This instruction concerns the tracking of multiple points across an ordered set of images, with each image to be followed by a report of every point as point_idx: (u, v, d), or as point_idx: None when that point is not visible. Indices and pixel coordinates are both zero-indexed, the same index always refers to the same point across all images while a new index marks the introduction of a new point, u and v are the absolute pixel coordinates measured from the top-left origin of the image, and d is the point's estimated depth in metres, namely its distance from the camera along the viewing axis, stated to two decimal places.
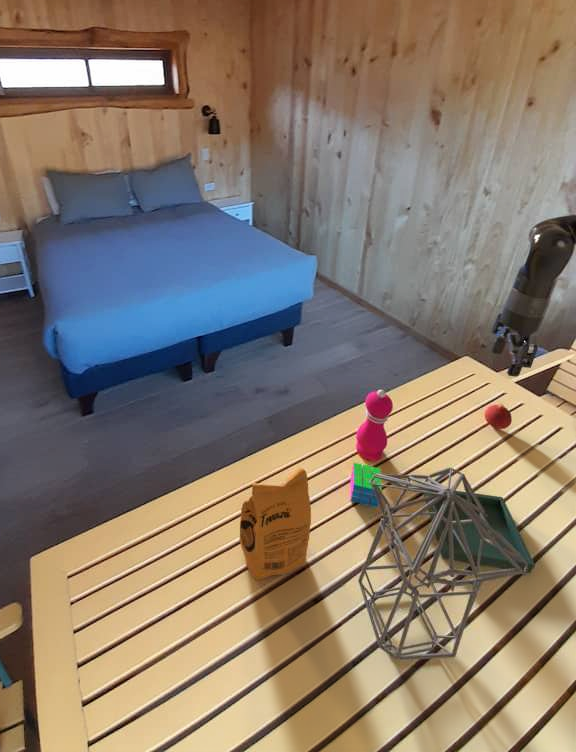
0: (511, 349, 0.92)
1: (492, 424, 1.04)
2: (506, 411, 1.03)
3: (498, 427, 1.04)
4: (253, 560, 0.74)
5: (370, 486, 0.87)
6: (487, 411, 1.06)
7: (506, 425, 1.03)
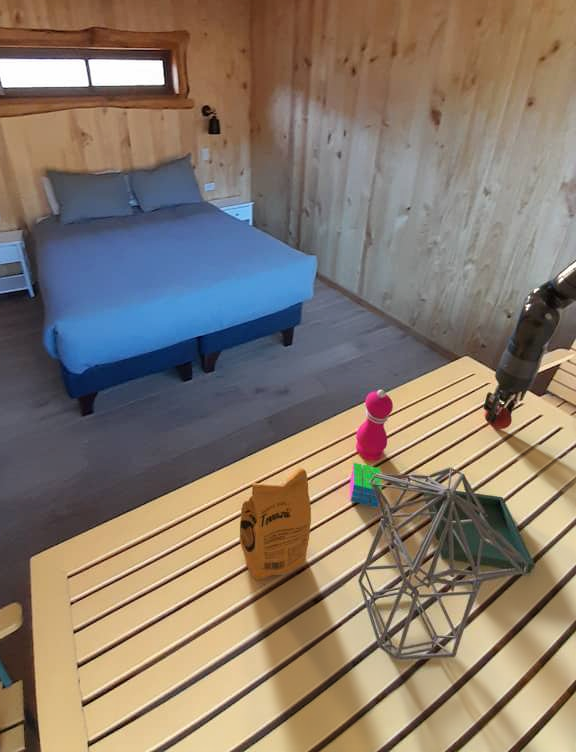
0: None
1: (492, 424, 1.04)
2: (506, 411, 1.03)
3: (498, 427, 1.04)
4: (253, 560, 0.74)
5: (370, 486, 0.87)
6: None
7: (506, 425, 1.03)
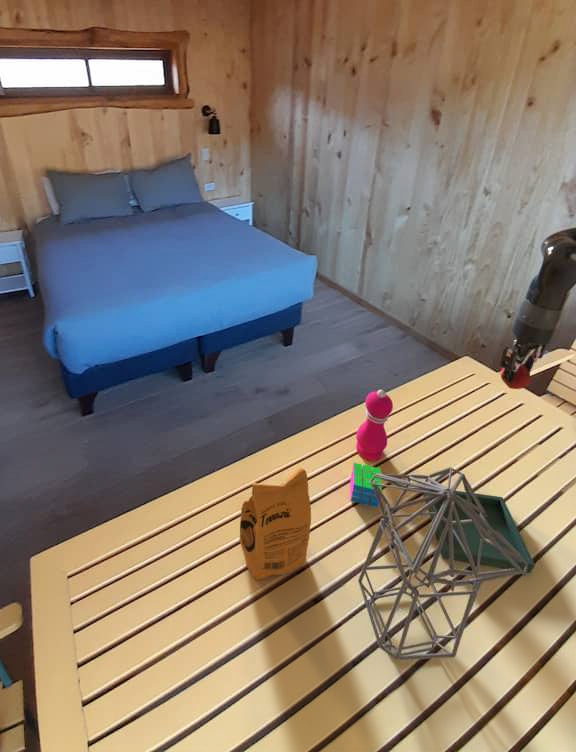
0: None
1: (509, 383, 0.97)
2: (524, 369, 0.96)
3: (516, 386, 0.96)
4: (253, 560, 0.74)
5: (370, 486, 0.87)
6: (503, 370, 0.98)
7: (524, 384, 0.95)
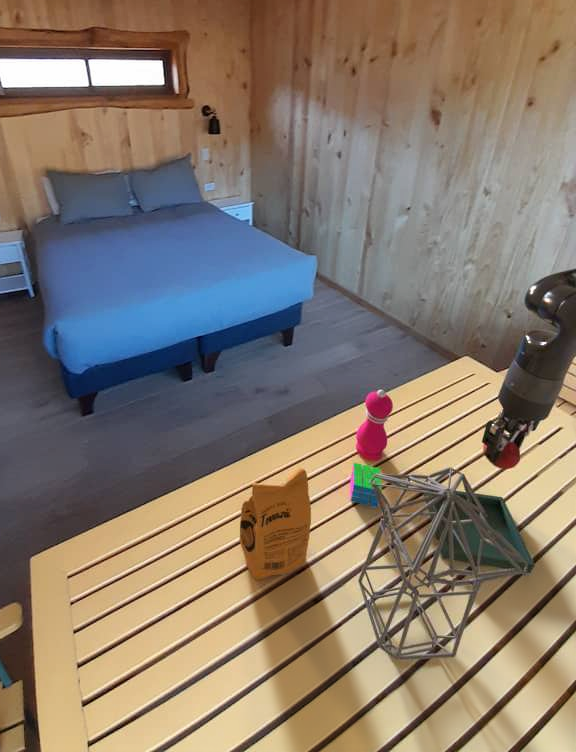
0: None
1: None
2: (513, 445, 0.75)
3: (502, 467, 0.76)
4: (253, 560, 0.74)
5: (370, 486, 0.87)
6: None
7: (513, 464, 0.75)
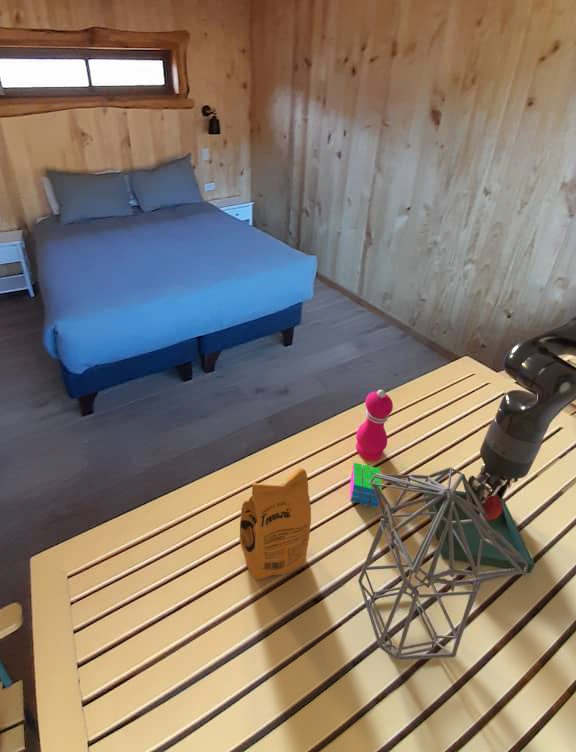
0: (476, 478, 0.77)
1: None
2: (495, 497, 0.77)
3: None
4: (253, 560, 0.74)
5: (370, 486, 0.87)
6: None
7: (495, 516, 0.77)
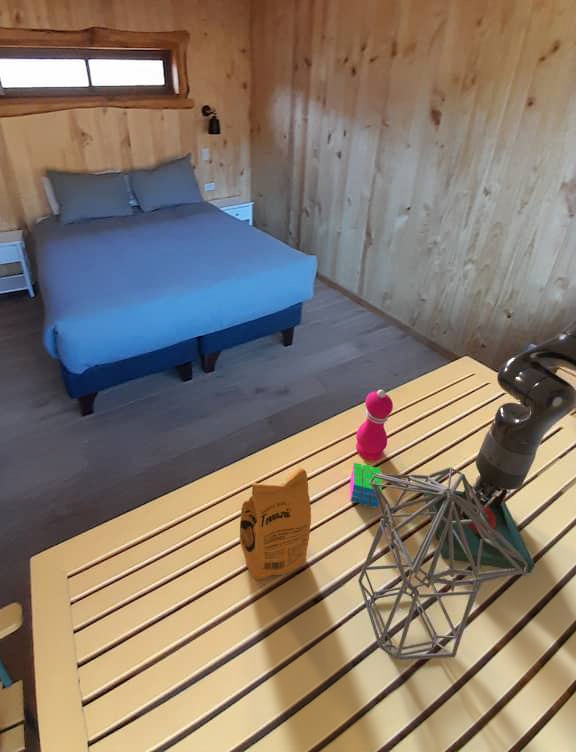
0: None
1: (470, 527, 0.81)
2: (488, 512, 0.79)
3: (478, 532, 0.80)
4: (253, 560, 0.74)
5: (370, 486, 0.87)
6: None
7: None
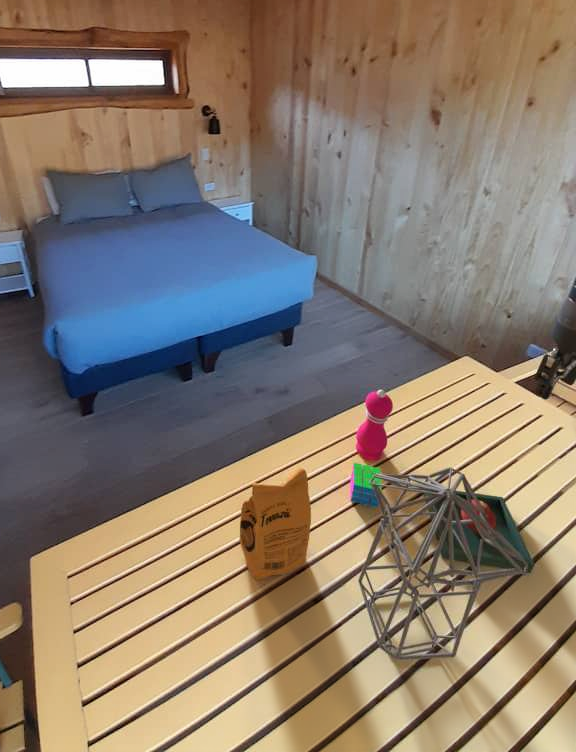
0: None
1: (470, 527, 0.81)
2: (488, 512, 0.79)
3: (478, 532, 0.80)
4: (253, 560, 0.74)
5: (370, 486, 0.87)
6: None
7: None
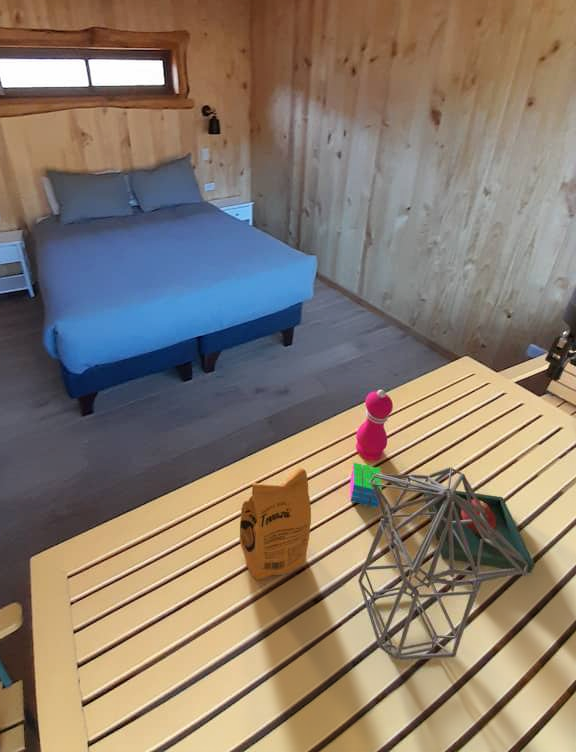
0: None
1: (470, 527, 0.81)
2: (488, 512, 0.79)
3: (478, 532, 0.80)
4: (253, 560, 0.74)
5: (370, 486, 0.87)
6: None
7: None
